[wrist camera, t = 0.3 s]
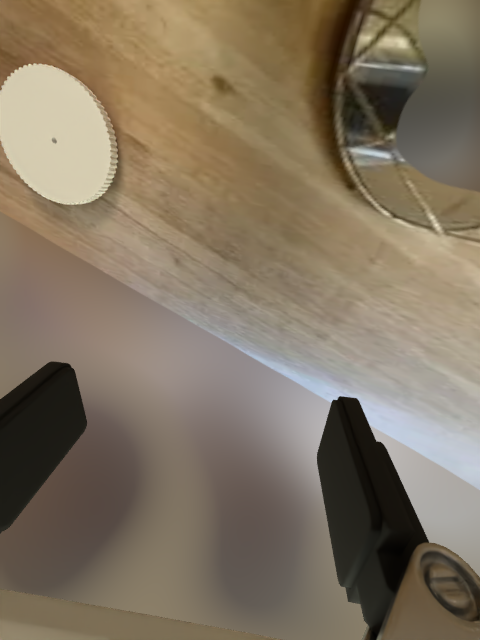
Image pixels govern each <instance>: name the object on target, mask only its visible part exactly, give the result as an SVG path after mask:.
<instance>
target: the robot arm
mask: <svg viewBox="0 0 480 640" xmlns="http://www.w3.org/2000/svg"><path fill="white" fill-rule="evenodd" d="M86 426H87V420H86V416H85V411H84V407H83V403H82V399H81V395H80V391H79V387H78V382H77V378H76V374H75V371H74V369H73V368H71V366H70V364H68V363H61V362H49V363H47V364H46V365H45V366H44V367H42V368H41V369H39V370H38V371H37V372H36V373H35V374H33V375H32V376H30V377H29V378H28V379H26V380H25V381H24V382H23V383H21V384H20V385H19V386H17V387H16V388H15V389H13V390H12V391H11V392H10V393H8V394H7V395H6V396H4V397H3V398H2V399H0V533H1V532H2V531H4V530H6V529H8V528H9V527H10V526H11V524H12V523H13V522H14V520H16V518H17V517H18V516H19V514H20V513H21V512H22V510H23V509H24V508H25V507H26V505H27V504H28V503H29V502H30V500H31V499H32V498H33V496H34V495H35V494H36V493H37V491H38V490H39V489H40V488H41V486H42V485H43V484H44V482H45V481H46V480H47V479H48V477H49V476H50V475H51V473H52V472H53V471H54V470H55V468H56V467H57V466H58V464H59V463H60V462H61V461H62V459H63V458H64V457H65V455H66V454H67V453H68V452H69V450H70V449H71V448H72V446H73V445H74V444H75V442H76V441H77V440H78V439H79V437H80V436H81V435H82V434H83V432H84V431H85V429H86ZM317 464H318V470H319V476H320V482H321V487H322V493H323V498H324V504H325V510H326V515H327V521H328V527H329V532H330V538H331V544H332V549H333V555H334V560H335V566H336V572H337V577H338V581H339V584H340V586H342V587H345V588H346V592H347V598H348V602H352V603H358V604H361V608H362V613H363V617H364V621H365V622H366V623H367V624H368V626H367V628H366V630H365V633H364V635H363V638H362V640H480V577H479V576H478V575H477V574H476V573H475V572H474V571H473V569H472V568H471V567H470V566H469V565H468V564H467V563H466V562H465V561H464V560H463V559H462V558H461V557H459V556H458V555H457V554H456V553H454V552H452V551H451V550H449V549H447V548H446V547H444V546H441V545H438V544H435V543H429V541H428V539H427V537H426V534H425V532H424V530H423V528H422V526H421V523H420V522H419V519H418V517H417V515H416V513H415V510H414V508H413V506H412V504H411V502H410V499H409V497H408V495H407V493H406V491H405V489H404V486H403V484H402V482H401V480H400V478H399V475H398V473H397V471H396V469H395V467H394V465H393V462H392V460H391V458H390V456H389V454H388V452H387V449H386V448H385V446H384V445H383V444H382V443H381V442H376V440H375V437H374V435H373V433H372V430H371V428H370V426H369V423H368V421H367V419H366V417H365V414H364V412H363V410H362V407H361V405H360V403H359V401H358V399H357V398H350V397H341V396H340V397H339V398H338V400H333V401H332V404H331V407H330V411H329V414H328V418H327V421H326V425H325V428H324V432H323V435H322V439H321V443H320V446H319V449H318V453H317ZM0 640H281V639H276V638H271V637H266V636H261V635H256V634H251V633H245V632H240V631H234V630H229V629H223V628H218V627H212V626H207V625H202V624H196V623H191V622H185V621H180V620H174V619H168V618H163V617H158V616H152V615H147V614H141V613H135V612H130V611H124V610H118V609H113V608H107V607H101V606H95V605H89V604H84V603H79V602H73V601H67V600H61V599H56V598H50V597H45V596H39V595H33V594H27V593H21V592H16V591H10V590H4V589H0Z"/></svg>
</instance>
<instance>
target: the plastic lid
mask: <svg viewBox="0 0 480 640" xmlns="http://www.w3.org/2000/svg"><path fill="white" fill-rule="evenodd" d="M14 72H15V73H11V74H10V75H11V76H10V77H9V76H8V77H7V79H8V80H7V81H4V86H3V85H2V91H1V90H0V141H2V144H1V145H2V147H4V152H5V153H6V154H7V158H8V159H9V160H10V161H9V162H10V164H12V165H13V168H14V169H15V170H16V171H17V172H16V173H17V174H19V175H20V178H21V179H23V180H24V182H25V183H27V184H28V186H29V187H32V188H33V190H34V191H37V193H38V194H41V195H42V196H43V197H46V199H51V201H56V203H61V204H70V205H73V204H83V203H88V202H92V201H94V200H95V199H98V198H99V196H102V193H105V190H108V186H110V183H111V182H113V180H112V178H114V177H115V176H114V173H116V171H115V168H117V165H116V163H118V160H117V157H118V154H117V151H118V149H117V148H116V146H117V143H116V141H115V140H116V137H115V136H114V133H115V131H114V130H113V129H112V127H113V125H112V124H111V123H110V121H111V120H110V118H108V116H107V115H108V114H107V112H105V111H104V109H105V108H104V107H103V106H102V105H101V102H100V101H99V100H97V97H96V95H94V94H93V92H92V91H91V90H89V89H88V87H87V86H86V85H84V84H83V83H82V82H81V81H79V80H78V79H77V78H75V77H73V76H72V75H70V74H68V73H66V72H65V71H63V70H60V69H59V68H57V67H53V66H51V65H50V66H48V65H47V64H44V65H43V64H41V63H39V65H37V64H36V63H33V65H31V64H28V66H26V65H24V66H23V68H21V67H19V70H14Z"/></svg>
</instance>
